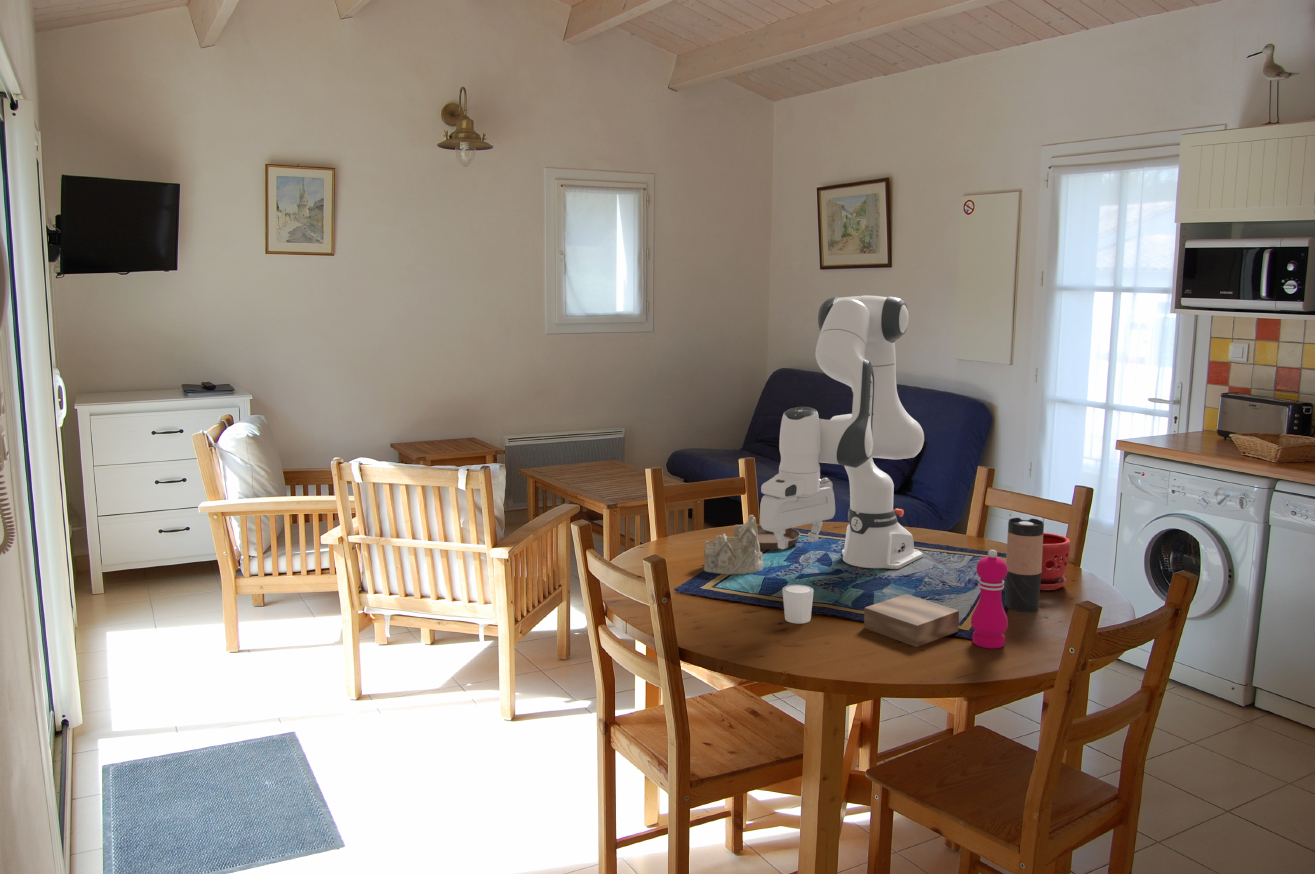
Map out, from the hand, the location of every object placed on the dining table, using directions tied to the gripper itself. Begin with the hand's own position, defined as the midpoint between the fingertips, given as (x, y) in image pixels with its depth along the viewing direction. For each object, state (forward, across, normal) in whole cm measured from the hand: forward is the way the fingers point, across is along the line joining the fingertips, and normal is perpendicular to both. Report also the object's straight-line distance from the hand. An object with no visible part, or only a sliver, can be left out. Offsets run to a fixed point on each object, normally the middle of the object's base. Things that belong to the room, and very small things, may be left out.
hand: (798, 544), depth 214 cm
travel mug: (+17, -45, +27) cm, 55 cm away
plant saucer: (+17, -38, -48) cm, 64 cm away
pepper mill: (+17, -20, +35) cm, 44 cm away
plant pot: (+17, -62, +21) cm, 68 cm away
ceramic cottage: (+17, -17, -39) cm, 46 cm away
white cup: (+17, 0, 0) cm, 17 cm away
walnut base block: (+18, -14, +20) cm, 30 cm away
